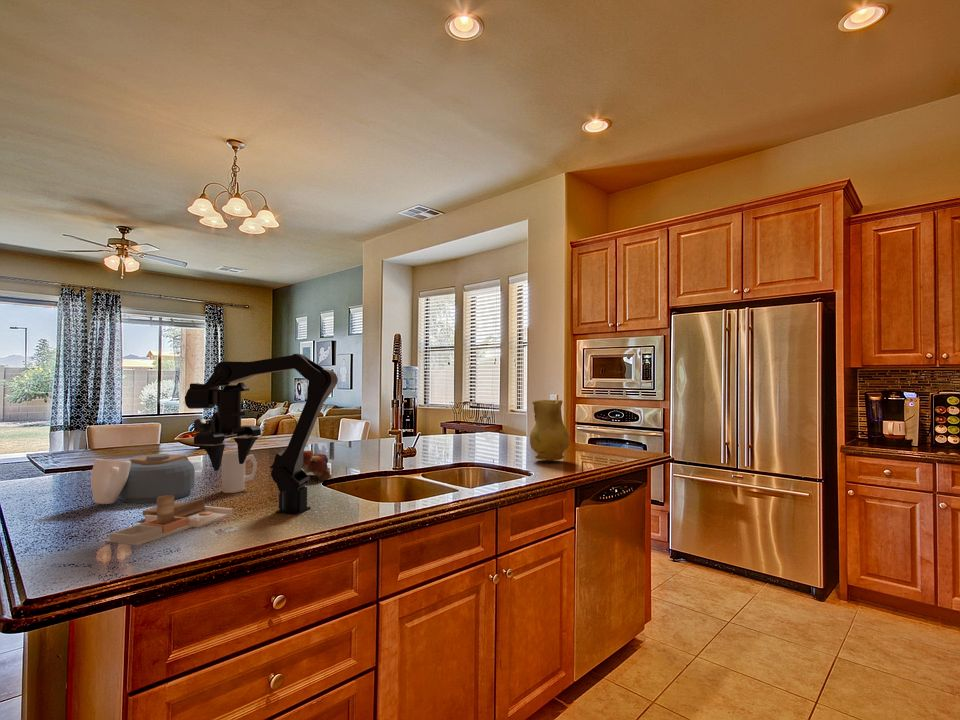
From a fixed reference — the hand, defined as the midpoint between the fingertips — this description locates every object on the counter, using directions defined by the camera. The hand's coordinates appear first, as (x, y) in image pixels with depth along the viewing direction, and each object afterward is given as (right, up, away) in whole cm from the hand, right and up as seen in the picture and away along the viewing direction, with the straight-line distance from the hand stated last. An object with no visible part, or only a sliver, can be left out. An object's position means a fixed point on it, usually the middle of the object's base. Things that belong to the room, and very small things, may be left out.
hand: (229, 467), depth 134 cm
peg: (-7, -10, -17) cm, 21 cm away
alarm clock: (-29, -12, +16) cm, 35 cm away
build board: (-8, -11, -20) cm, 24 cm away
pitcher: (+97, -14, +85) cm, 129 cm away
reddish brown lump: (+8, -13, +42) cm, 45 cm away
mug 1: (-34, -10, +1) cm, 36 cm away
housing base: (-5, -12, -8) cm, 15 cm away
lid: (-11, -10, -6) cm, 16 cm away
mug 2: (-9, -12, +23) cm, 28 cm away
